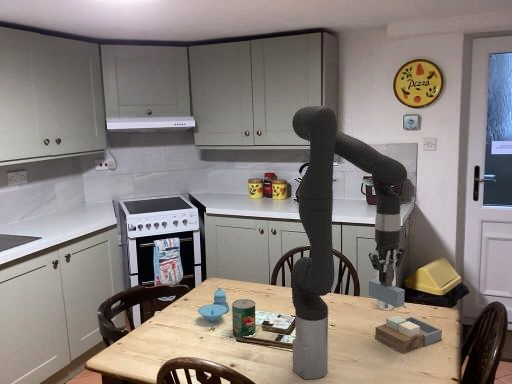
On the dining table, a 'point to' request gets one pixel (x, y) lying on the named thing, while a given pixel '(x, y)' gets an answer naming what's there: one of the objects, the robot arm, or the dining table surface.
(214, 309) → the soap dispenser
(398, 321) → the tile
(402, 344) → the brown wooden block
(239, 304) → the canned tomato
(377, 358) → the dining table surface
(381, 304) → the beer glass
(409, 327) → the tile
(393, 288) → the scraper
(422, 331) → the box
